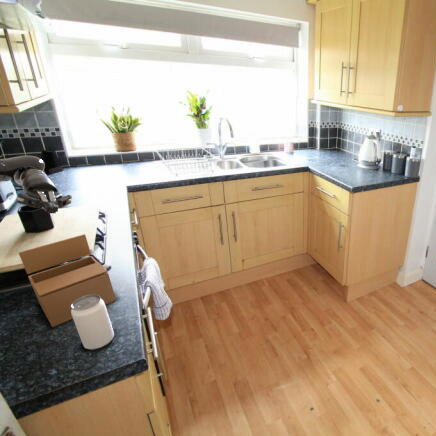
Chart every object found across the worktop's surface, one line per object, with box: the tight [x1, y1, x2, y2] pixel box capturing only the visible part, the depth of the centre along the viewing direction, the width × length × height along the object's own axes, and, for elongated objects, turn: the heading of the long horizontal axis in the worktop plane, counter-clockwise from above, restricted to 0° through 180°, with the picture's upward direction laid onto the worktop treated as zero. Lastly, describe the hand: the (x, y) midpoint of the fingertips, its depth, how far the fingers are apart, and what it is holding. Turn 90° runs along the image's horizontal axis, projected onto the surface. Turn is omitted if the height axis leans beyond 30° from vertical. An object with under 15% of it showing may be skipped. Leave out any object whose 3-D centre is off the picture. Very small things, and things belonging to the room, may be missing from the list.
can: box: [71, 295, 115, 350], centre depth 77 cm, size 6×6×12 cm
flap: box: [18, 233, 92, 275], centre depth 91 cm, size 15×7×1 cm
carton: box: [27, 255, 117, 328], centre depth 90 cm, size 15×14×10 cm
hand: (52, 210), depth 91 cm, fingers closed
